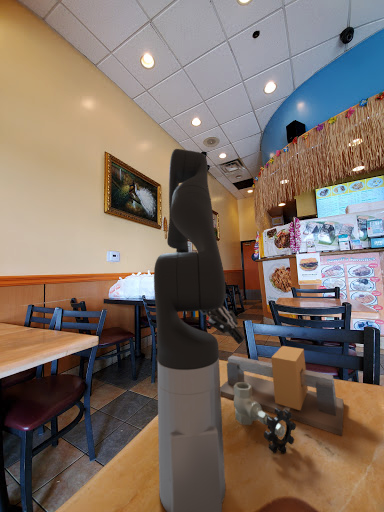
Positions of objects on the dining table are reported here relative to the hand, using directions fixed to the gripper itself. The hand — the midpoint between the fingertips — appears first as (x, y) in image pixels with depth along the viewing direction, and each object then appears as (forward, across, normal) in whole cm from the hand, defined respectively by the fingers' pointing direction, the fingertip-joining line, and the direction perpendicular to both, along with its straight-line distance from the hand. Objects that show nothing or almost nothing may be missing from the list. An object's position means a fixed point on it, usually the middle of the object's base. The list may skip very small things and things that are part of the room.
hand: (242, 341), depth 56 cm
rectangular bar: (+14, 0, +3) cm, 14 cm away
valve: (+15, -13, +3) cm, 20 cm away
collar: (+16, 0, 0) cm, 16 cm away
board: (+14, 0, +3) cm, 14 cm away
